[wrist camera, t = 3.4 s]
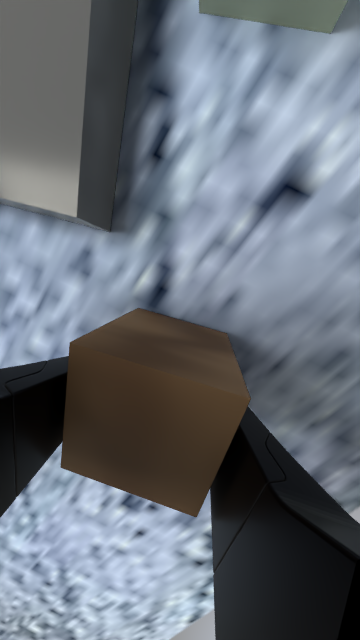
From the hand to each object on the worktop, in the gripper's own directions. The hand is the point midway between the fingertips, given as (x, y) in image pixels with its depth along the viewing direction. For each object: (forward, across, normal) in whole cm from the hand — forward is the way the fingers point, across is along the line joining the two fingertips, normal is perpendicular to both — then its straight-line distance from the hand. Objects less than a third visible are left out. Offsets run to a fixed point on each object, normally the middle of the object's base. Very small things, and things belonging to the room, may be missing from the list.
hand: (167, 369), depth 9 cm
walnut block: (+1, 0, 0) cm, 1 cm away
